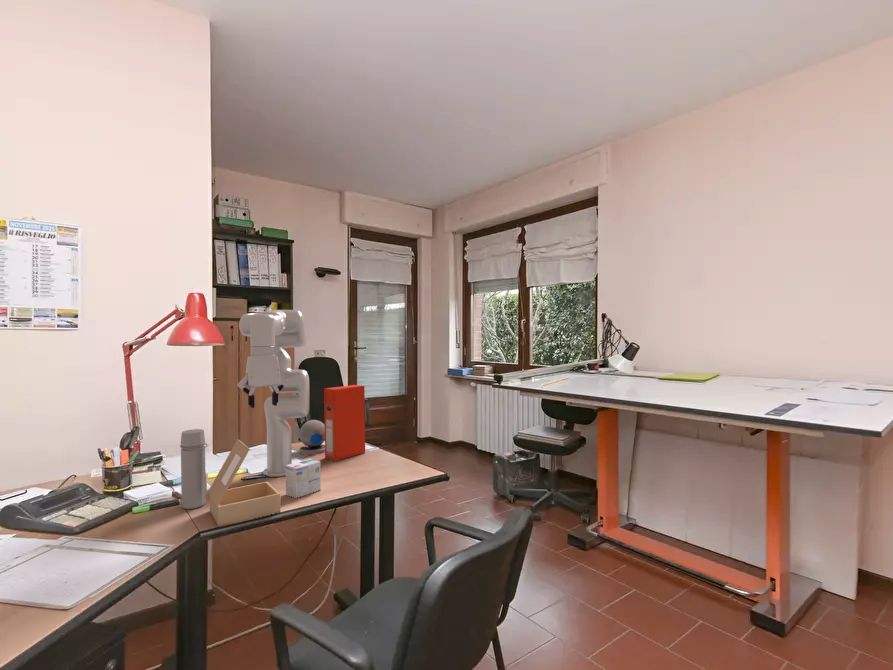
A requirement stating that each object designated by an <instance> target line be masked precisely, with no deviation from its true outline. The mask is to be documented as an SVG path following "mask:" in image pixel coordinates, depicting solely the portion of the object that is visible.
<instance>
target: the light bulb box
mask: <svg viewBox="0 0 893 670" xmlns="http://www.w3.org/2000/svg"><path fill="white" fill-rule="evenodd" d="M285 469H286V475H285V495H286V494H288V495H290V496H289V497H291V496H292V497H291V498H293V497H294V498H293V499H295V498H296V499H298V498H300V496H301V497H304V496H307V495H311V494H313V492H314V493H316V491H317V492H319V491H318V490H320V491H321V490H322V488H321V487H322V486H321V482H322V481H321V480H322V479H321V461H320V460H316V459H312V458H307V459H304V460H300V461H297V462H293V463H292V464H289V465H285ZM310 493H311V494H310ZM288 495H287V496H288ZM297 497H298V498H297Z"/></svg>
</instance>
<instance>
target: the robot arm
mask: <svg viewBox="0 0 893 670" xmlns="http://www.w3.org/2000/svg"><path fill="white" fill-rule="evenodd" d="M238 328H239V331H240V333H241V335H242V336H244V337H250V343H249V344H250V355H249V356H247V359H246V366H245V376H244V377H243V378H242V379H241V380H240V381H239V382H237V387H239V389H241V391H243V392H244V393H245V394H246V395H247V399H248V400H247V403H248V404H247V405H248V406H249V407H250V408H252V409H254V408H255V395H254V393H255V390H256V388H259V387H269V390H270V391H271V392H272V393H271V396H269V397H267V398H266V399H265V401H264V404H263V408H264V414H265V423H266V462H267V463H266V468H265V469H263V472H262V474H263V475H264V476H265V475H266V477H271V478H275V477H277V478H278V477H284V476H285V477H286V469H285V465H289V464H292V462H293V456H292V455H293V454H292V450H293V449H292V448H293V447H292V428H291V425H290V424H289V422H287V419H301V418H302V419H303V418H306V417H307V416H308V415H309V412H310V377H309V374H308V371H307V370H305V369H292V359H291V358H292V357H291V356H290V355H289V353H288V352H287V351H286V350H285V349H284V348H302V347H304V346H305V345H306V342H307V330H306V324H305V318H304V315H303V313H302V312H301V311H300V310H298V309H274V310H273V309H272V310H270V311H262V312H261V311H260V312H253V313H251V312H249V313H245V314H242V315H241V318H240V320H239V323H238ZM245 385H246V386H249V387H248V388H247V387H246V386H245ZM280 393H281V395H279V394H280ZM282 393H285V394H284V395H282ZM286 393H296V394H289V395H288V394H286Z"/></svg>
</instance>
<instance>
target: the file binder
mask: <svg viewBox="0 0 893 670" xmlns="http://www.w3.org/2000/svg"><path fill="white" fill-rule="evenodd" d="M365 393H366V392H365V385H360V384H359V385H358V384H350V385H344V386H343V385H342V386H335V387H327V388H325V387H324V388H323V399H324V400H323V404H324V406H323V408H324V410H323V412H324V425H325V441H324V445H325V452H324V458H325V459H326V460H329V461H334V462H335V461H336V462H337V461H339V460H343V459H347V458H350V457H355V456H357V455H361V454H365V453H366V415H365V414H366V410H365V409H366V404H365V402H366V400H365Z"/></svg>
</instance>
